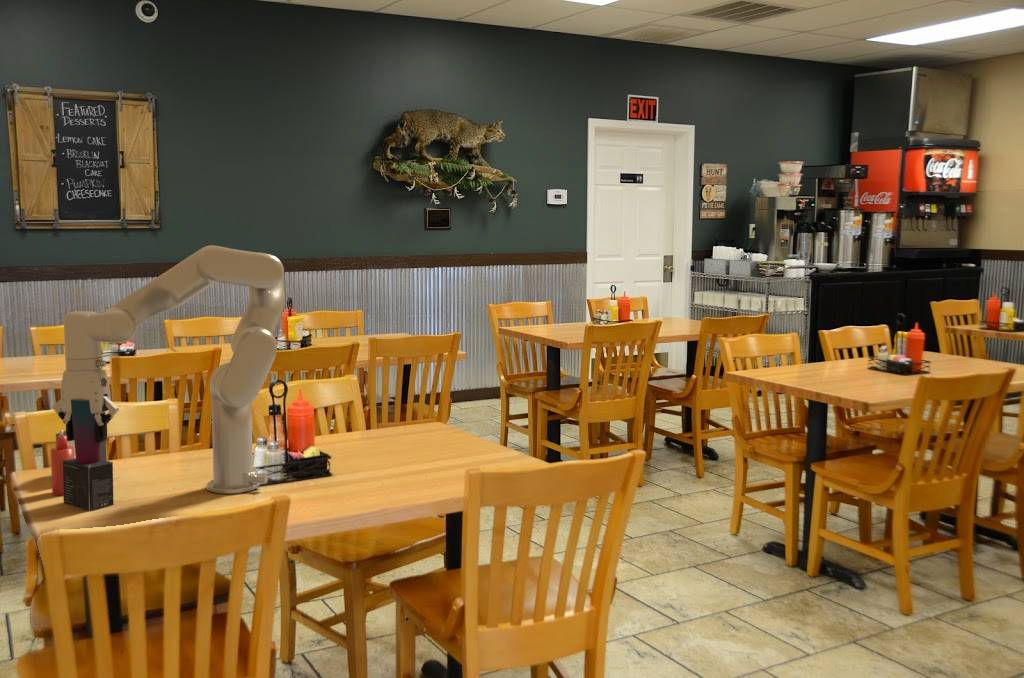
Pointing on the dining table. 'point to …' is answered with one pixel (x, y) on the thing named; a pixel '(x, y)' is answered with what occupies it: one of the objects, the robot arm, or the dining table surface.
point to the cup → (85, 433)
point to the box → (88, 484)
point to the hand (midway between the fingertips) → (87, 439)
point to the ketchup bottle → (59, 463)
